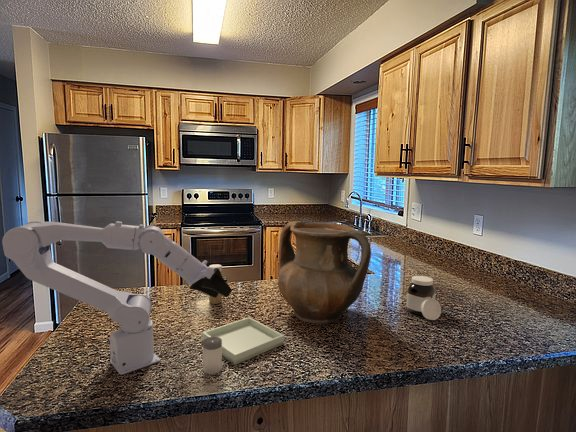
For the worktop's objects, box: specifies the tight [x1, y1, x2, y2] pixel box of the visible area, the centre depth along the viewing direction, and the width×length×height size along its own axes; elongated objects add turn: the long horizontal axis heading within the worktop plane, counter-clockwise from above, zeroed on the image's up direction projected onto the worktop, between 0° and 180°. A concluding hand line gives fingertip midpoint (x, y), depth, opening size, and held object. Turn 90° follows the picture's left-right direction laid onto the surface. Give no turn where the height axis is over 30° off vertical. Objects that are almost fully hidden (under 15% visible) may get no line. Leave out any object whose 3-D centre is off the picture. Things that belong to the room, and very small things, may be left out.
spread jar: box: [406, 275, 442, 321], centre depth 119 cm, size 12×11×12 cm
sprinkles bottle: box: [208, 263, 223, 305], centre depth 127 cm, size 5×5×13 cm
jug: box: [277, 221, 372, 325], centre depth 117 cm, size 32×28×30 cm
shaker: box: [202, 337, 223, 375], centre depth 84 cm, size 4×4×7 cm
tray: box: [201, 316, 285, 365], centre depth 98 cm, size 16×16×2 cm
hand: (223, 294), depth 92 cm, fingers open, 7 cm apart
